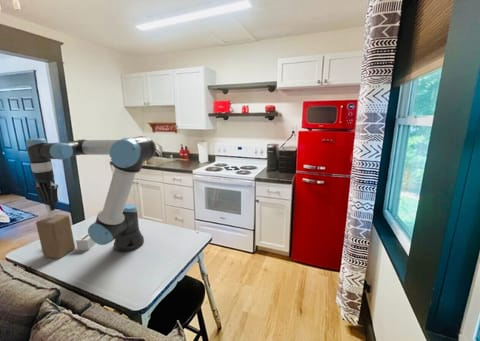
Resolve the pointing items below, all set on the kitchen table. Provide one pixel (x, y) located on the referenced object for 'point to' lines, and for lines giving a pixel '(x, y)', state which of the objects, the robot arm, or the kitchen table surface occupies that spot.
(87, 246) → the grey marked cube
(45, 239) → the wooden block
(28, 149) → the robot arm
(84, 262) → the kitchen table surface
